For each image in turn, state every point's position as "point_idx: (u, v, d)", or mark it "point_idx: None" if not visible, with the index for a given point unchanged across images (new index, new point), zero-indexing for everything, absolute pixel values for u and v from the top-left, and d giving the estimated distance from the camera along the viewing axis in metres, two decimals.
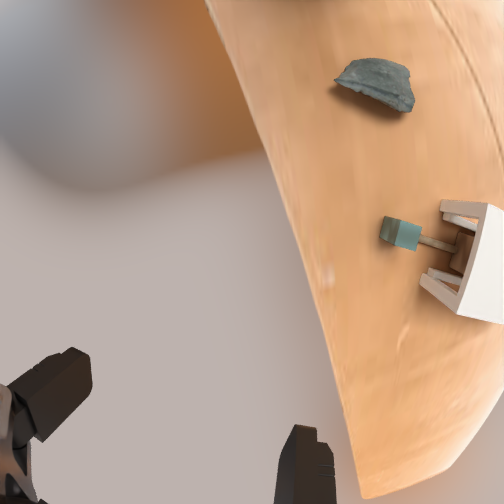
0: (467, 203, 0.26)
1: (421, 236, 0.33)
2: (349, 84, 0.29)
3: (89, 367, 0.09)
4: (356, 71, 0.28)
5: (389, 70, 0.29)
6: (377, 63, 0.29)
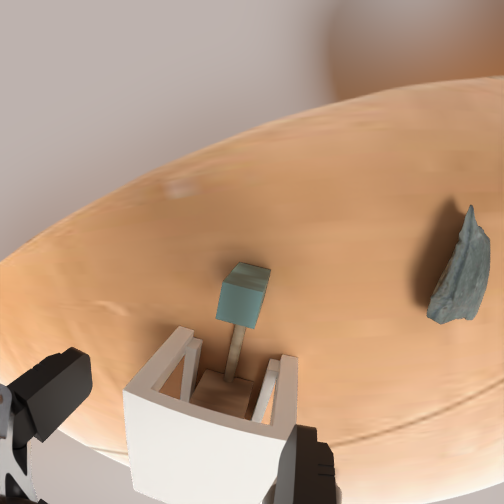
0: (293, 402, 0.20)
1: (243, 327, 0.25)
2: (467, 225, 0.19)
3: (89, 367, 0.09)
4: (481, 240, 0.19)
5: (477, 290, 0.21)
6: (485, 274, 0.21)
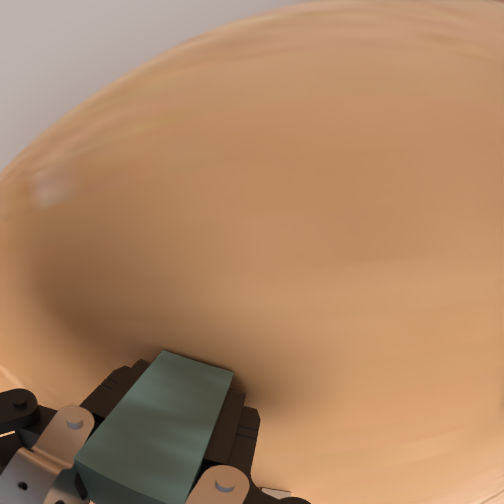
0: None
1: None
2: None
3: None
4: None
5: None
6: None
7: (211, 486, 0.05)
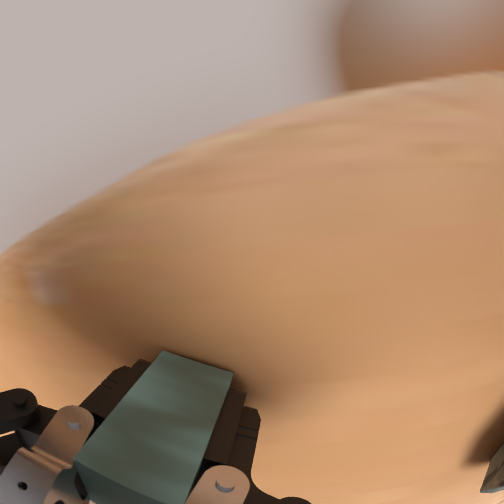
0: None
1: None
2: None
3: None
4: None
5: None
6: None
7: (211, 486, 0.05)
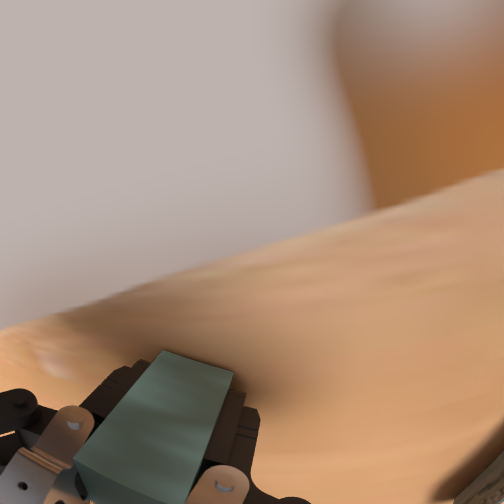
0: None
1: None
2: None
3: None
4: None
5: None
6: None
7: (211, 486, 0.05)
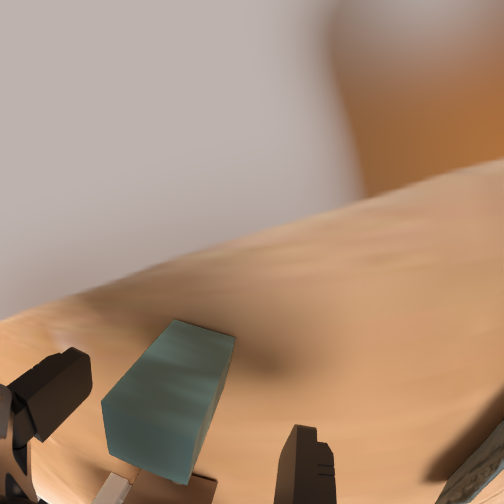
0: None
1: None
2: None
3: (89, 367, 0.09)
4: None
5: None
6: None
7: None
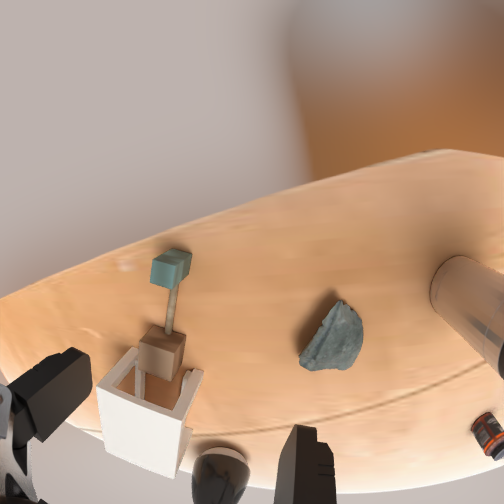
0: (189, 399, 0.34)
1: (174, 293, 0.37)
2: (331, 315, 0.33)
3: (89, 367, 0.09)
4: (345, 324, 0.33)
5: (345, 352, 0.36)
6: (355, 342, 0.36)
7: None
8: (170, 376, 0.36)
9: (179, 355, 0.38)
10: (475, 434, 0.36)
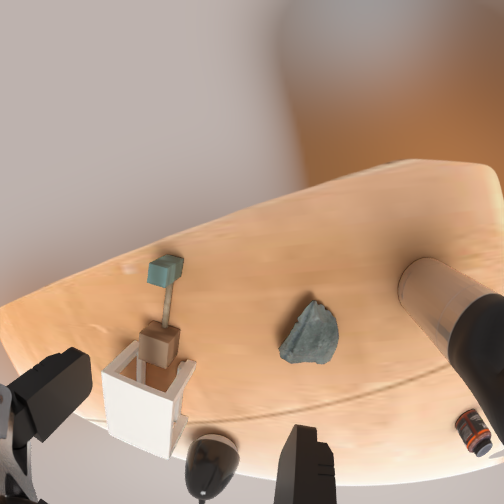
0: (181, 384, 0.40)
1: (169, 292, 0.43)
2: (306, 313, 0.39)
3: (89, 367, 0.09)
4: (319, 321, 0.39)
5: (322, 347, 0.41)
6: (330, 339, 0.41)
7: None
8: (165, 364, 0.42)
9: (174, 346, 0.44)
10: (459, 430, 0.40)
